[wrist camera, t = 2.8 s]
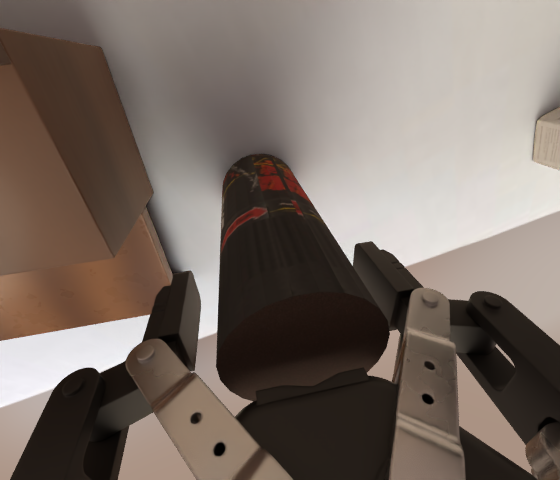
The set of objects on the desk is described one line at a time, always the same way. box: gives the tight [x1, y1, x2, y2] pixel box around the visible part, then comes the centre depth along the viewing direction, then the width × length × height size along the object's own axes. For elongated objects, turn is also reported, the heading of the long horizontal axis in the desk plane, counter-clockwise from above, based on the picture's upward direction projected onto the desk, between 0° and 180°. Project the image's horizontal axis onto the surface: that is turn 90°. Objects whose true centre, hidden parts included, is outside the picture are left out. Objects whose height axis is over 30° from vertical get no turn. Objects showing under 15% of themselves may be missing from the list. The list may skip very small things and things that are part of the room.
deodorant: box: [216, 154, 390, 401], centre depth 15 cm, size 6×6×15 cm
